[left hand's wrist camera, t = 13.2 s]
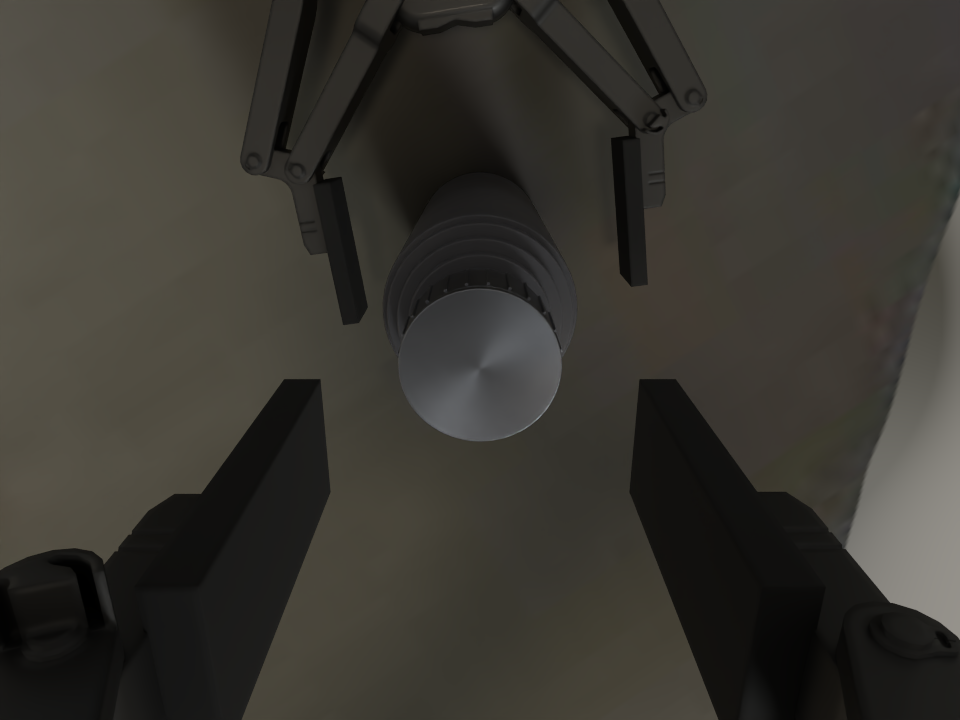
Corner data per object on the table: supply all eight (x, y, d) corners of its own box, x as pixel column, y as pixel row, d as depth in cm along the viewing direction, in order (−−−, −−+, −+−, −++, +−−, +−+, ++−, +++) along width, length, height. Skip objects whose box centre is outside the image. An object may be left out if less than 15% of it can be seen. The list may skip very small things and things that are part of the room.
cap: (581, 364, 21) (593, 393, 19) (456, 433, 22) (454, 469, 19) (505, 238, 19) (508, 254, 17) (375, 317, 20) (363, 342, 18)
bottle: (561, 253, 39) (643, 399, 19) (461, 312, 40) (443, 507, 20) (500, 147, 37) (523, 192, 17) (397, 214, 38) (309, 325, 18)
